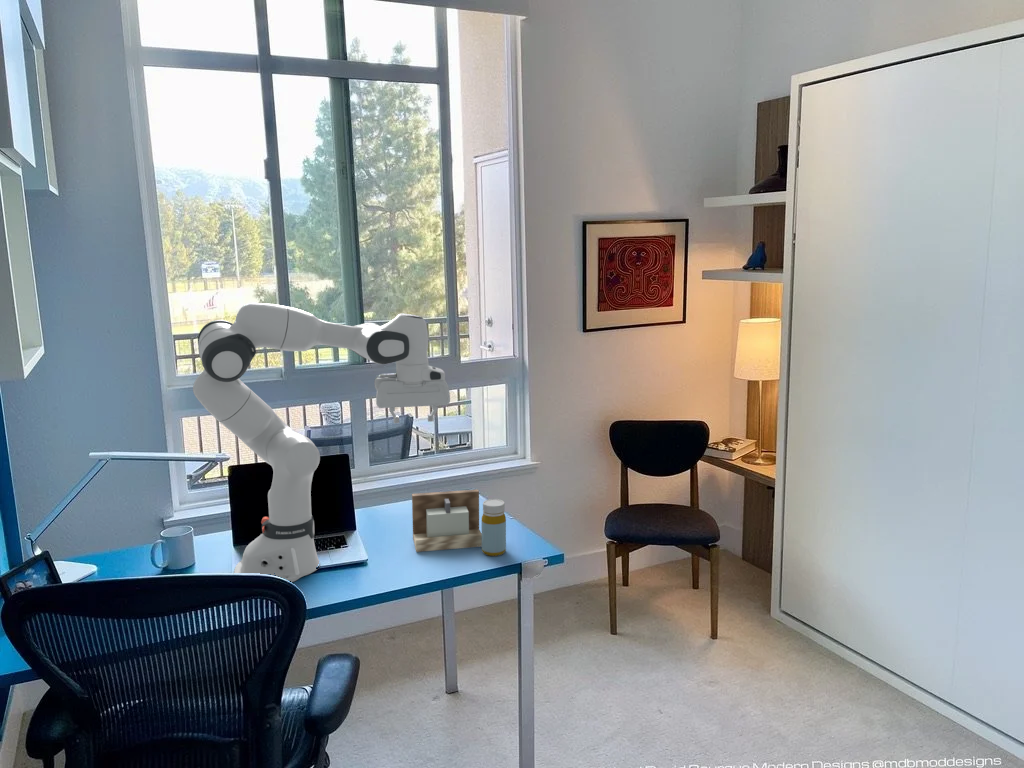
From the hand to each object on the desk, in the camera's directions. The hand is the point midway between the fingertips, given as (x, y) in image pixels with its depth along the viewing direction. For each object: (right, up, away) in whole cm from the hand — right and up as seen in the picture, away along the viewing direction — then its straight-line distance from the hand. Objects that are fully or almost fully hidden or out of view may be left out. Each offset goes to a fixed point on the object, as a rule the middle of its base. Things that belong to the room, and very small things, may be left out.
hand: (413, 421), depth 210 cm
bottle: (+22, -38, +9) cm, 45 cm away
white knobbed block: (+8, -35, +16) cm, 39 cm away
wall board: (+8, -37, +15) cm, 41 cm away
